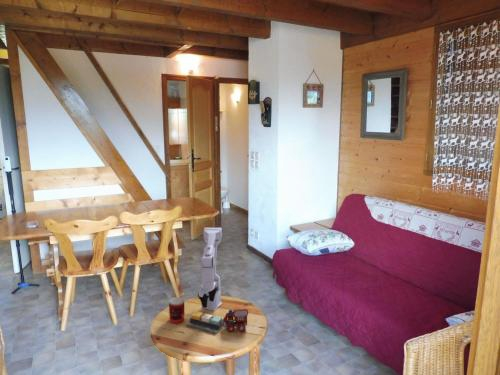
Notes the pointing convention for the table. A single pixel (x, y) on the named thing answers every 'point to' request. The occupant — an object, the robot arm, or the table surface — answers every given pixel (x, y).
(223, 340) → the table surface
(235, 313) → the toy fire truck
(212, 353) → the table surface
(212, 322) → the teal button
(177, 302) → the canned food
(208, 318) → the cream button
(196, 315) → the amber button
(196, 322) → the button panel
